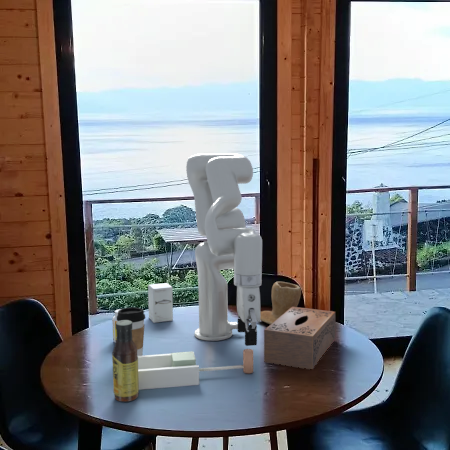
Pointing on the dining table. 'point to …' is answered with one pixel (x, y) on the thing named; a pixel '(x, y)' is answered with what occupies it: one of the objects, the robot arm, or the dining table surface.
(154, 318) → the supplement box
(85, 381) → the dining table surface
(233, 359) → the dining table surface
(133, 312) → the coffee cup
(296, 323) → the tissue box cover
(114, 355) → the sauce bottle
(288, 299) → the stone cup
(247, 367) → the sliding handle
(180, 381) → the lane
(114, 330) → the supplement bottle
